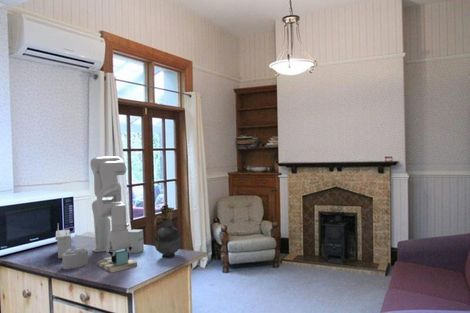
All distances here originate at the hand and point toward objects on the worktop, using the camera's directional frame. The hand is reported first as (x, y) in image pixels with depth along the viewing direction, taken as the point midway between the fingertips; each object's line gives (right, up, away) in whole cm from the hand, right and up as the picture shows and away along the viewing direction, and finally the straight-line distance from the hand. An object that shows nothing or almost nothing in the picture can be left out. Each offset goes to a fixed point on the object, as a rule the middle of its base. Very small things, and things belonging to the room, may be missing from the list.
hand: (120, 261), depth 193 cm
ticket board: (-3, -3, +3) cm, 6 cm away
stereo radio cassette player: (-43, -5, +30) cm, 53 cm away
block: (0, -1, 0) cm, 1 cm away
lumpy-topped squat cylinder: (-27, -4, +7) cm, 28 cm away
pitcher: (+22, -2, +15) cm, 26 cm away
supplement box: (0, -3, +31) cm, 31 cm away
